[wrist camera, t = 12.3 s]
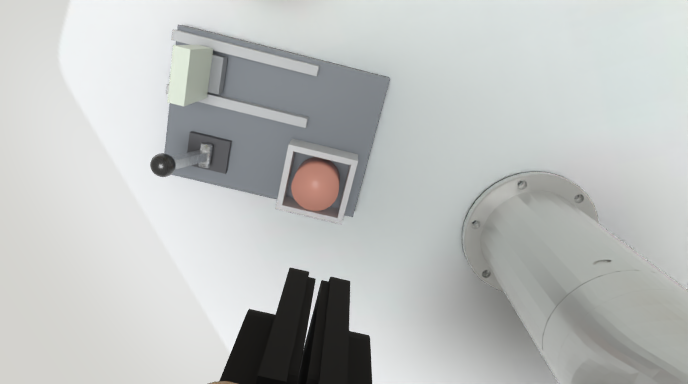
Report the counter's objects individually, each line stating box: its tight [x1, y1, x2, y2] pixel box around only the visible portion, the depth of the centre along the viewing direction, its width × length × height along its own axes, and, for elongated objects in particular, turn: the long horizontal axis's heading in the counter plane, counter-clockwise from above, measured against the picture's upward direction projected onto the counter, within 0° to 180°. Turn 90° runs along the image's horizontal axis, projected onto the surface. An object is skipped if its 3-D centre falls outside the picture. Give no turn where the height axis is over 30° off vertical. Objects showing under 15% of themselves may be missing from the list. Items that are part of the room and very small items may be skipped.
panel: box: [165, 25, 390, 224], centre depth 37 cm, size 18×13×4 cm
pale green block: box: [167, 45, 228, 106], centre depth 33 cm, size 3×4×6 cm
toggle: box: [150, 142, 213, 177], centre depth 35 cm, size 2×2×6 cm
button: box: [291, 157, 340, 211], centre depth 38 cm, size 4×4×3 cm
